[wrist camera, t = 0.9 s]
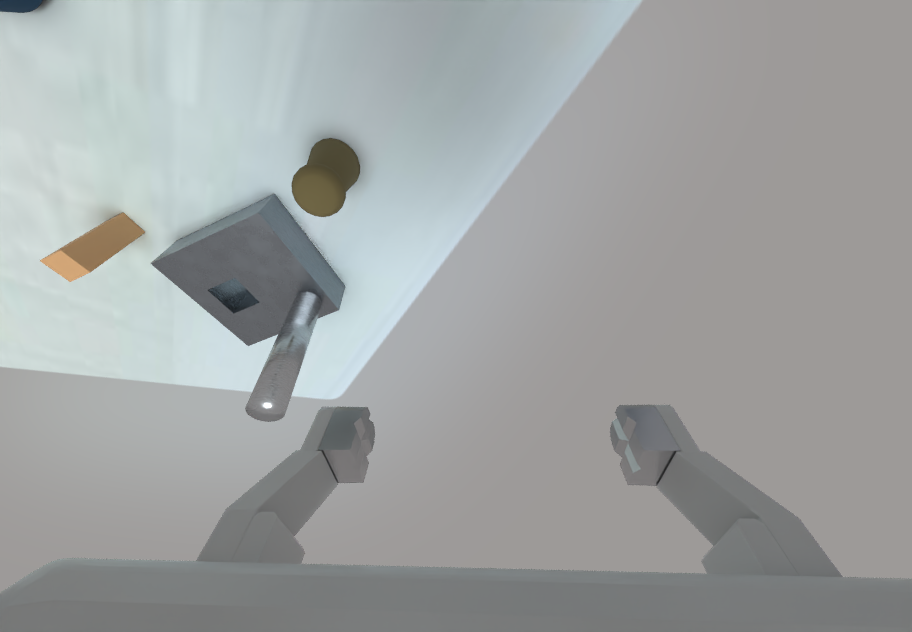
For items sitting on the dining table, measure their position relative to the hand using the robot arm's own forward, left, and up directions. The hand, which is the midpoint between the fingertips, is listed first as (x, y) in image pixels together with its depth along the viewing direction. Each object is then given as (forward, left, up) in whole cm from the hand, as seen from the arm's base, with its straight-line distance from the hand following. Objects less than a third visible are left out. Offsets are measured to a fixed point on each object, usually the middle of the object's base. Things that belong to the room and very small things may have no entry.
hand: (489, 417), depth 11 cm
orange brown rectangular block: (-6, -41, -39) cm, 57 cm away
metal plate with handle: (+6, -29, -39) cm, 49 cm away
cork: (-2, -12, -39) cm, 41 cm away
